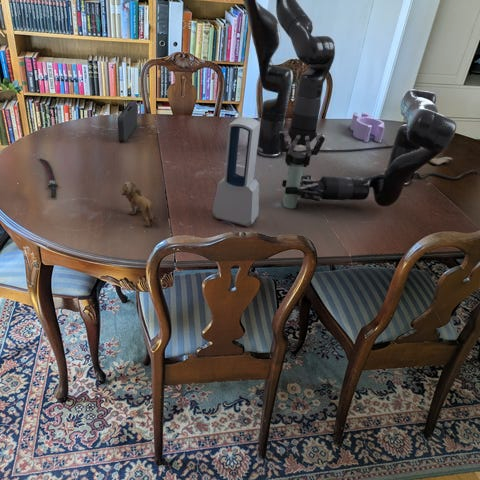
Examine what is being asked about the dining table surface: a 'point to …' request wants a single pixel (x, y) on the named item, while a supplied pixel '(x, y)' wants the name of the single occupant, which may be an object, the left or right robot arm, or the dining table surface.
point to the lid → (298, 158)
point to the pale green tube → (292, 184)
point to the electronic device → (239, 178)
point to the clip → (367, 127)
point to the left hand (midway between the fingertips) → (296, 165)
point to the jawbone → (440, 160)
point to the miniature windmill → (293, 83)
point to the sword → (52, 181)
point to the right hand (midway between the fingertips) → (284, 186)
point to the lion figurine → (137, 201)
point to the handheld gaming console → (127, 121)
